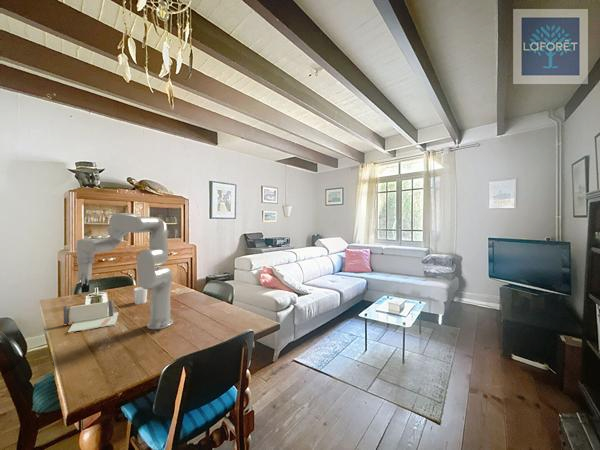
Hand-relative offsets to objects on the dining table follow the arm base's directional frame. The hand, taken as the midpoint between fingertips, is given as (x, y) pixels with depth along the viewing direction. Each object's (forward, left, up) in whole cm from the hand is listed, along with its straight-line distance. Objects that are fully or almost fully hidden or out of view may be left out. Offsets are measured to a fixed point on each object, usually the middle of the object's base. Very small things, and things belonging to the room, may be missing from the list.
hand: (85, 291), depth 139 cm
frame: (-11, -4, -15) cm, 19 cm away
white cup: (+15, -26, -16) cm, 34 cm away
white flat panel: (-6, -3, -14) cm, 15 cm away
